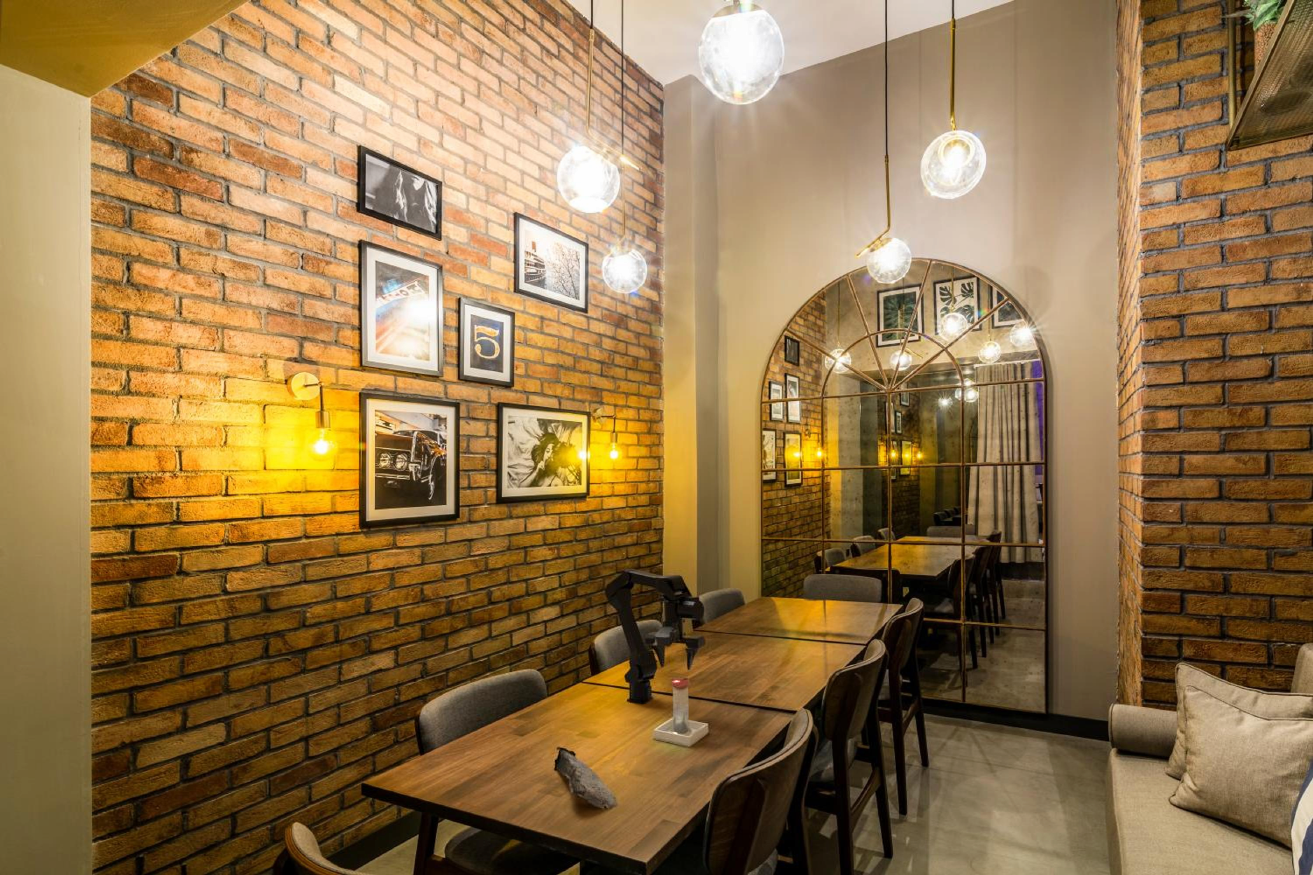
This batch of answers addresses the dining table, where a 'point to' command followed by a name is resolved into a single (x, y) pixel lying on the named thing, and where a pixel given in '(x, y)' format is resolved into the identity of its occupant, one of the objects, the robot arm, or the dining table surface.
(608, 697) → the dining table surface
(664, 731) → the tray
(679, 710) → the stop pin
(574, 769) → the tree bark piece
